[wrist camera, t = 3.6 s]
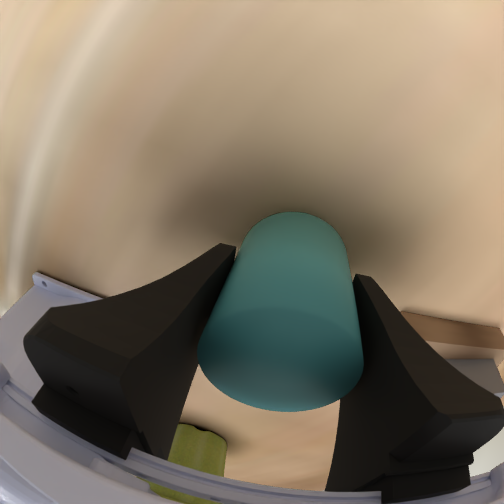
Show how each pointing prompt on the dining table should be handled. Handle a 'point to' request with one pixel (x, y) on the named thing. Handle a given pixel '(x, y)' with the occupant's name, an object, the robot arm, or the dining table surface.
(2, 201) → the dining table surface
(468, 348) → the walnut slab
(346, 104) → the dining table surface
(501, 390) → the grey square block
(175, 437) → the plant pot
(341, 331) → the teal cylinder
